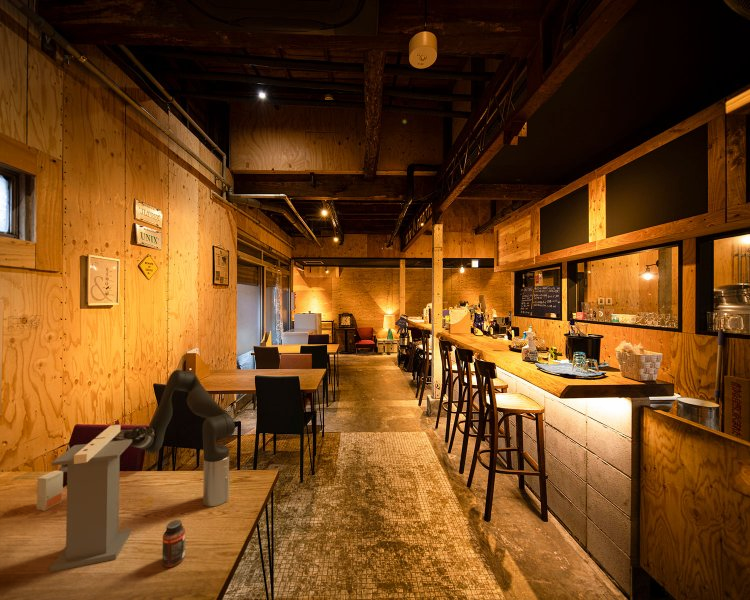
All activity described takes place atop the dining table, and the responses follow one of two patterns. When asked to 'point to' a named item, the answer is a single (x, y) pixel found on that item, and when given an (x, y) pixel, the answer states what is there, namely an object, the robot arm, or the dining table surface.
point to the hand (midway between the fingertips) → (126, 430)
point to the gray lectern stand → (92, 507)
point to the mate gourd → (64, 472)
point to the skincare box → (49, 490)
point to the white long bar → (96, 444)
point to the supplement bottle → (173, 544)
